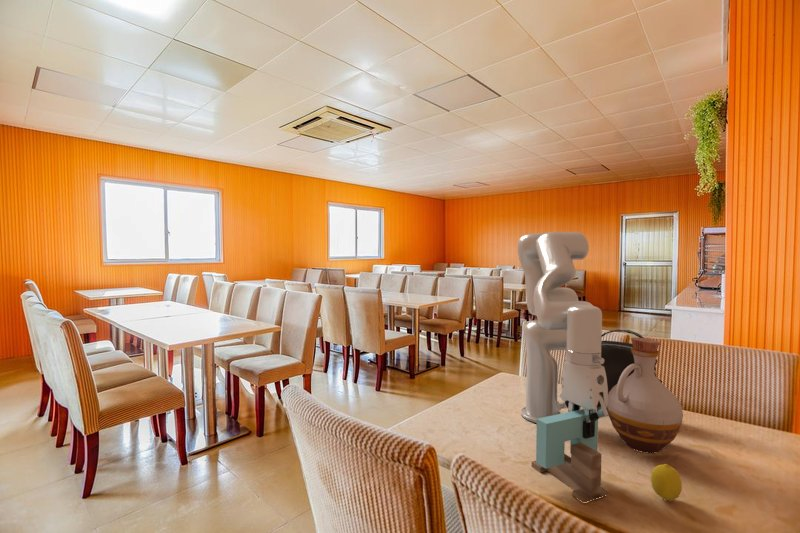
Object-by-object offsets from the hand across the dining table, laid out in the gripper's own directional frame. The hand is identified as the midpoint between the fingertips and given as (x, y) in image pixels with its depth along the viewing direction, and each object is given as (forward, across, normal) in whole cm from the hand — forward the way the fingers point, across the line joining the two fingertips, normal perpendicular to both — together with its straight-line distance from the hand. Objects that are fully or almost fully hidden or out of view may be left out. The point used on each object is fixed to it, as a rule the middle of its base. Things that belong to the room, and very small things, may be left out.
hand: (582, 433), depth 94 cm
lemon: (+11, -14, -10) cm, 20 cm away
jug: (+11, +4, -27) cm, 29 cm away
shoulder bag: (+11, +22, -43) cm, 49 cm away
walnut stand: (+11, 0, +4) cm, 12 cm away
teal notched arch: (+5, 0, +5) cm, 7 cm away
